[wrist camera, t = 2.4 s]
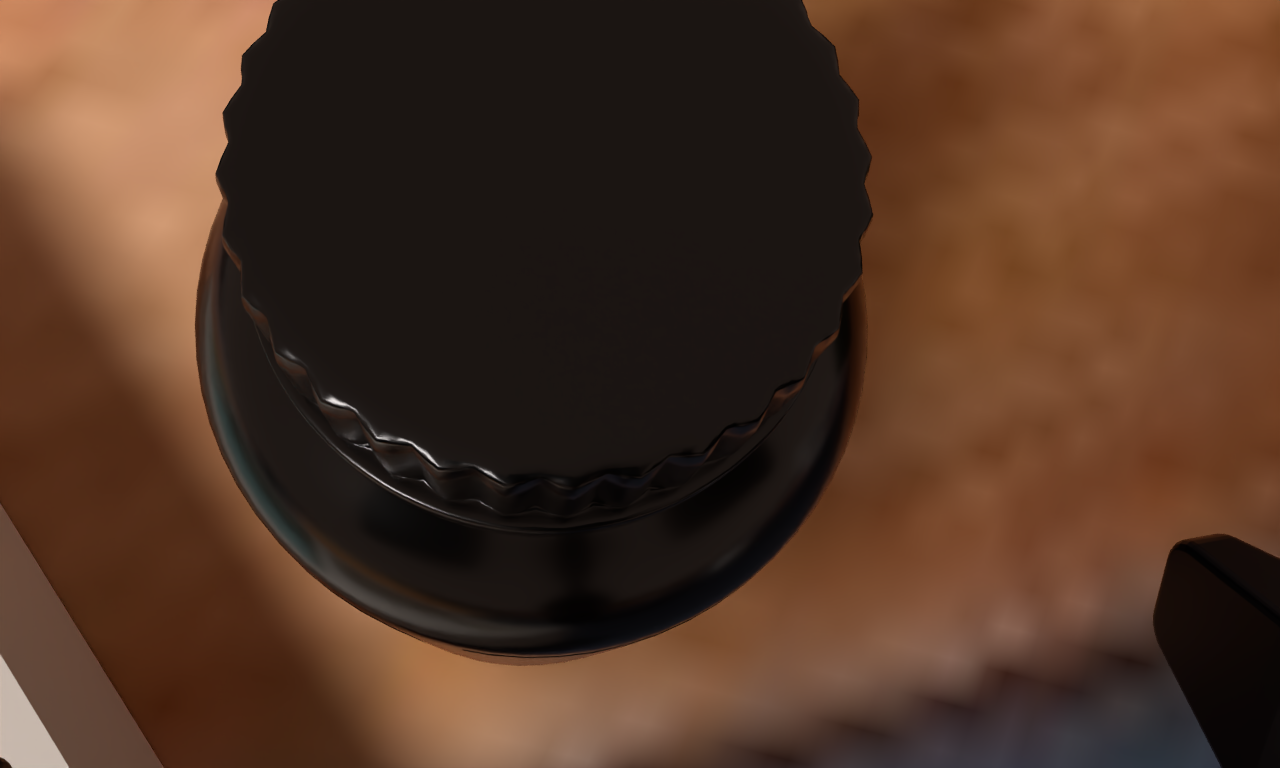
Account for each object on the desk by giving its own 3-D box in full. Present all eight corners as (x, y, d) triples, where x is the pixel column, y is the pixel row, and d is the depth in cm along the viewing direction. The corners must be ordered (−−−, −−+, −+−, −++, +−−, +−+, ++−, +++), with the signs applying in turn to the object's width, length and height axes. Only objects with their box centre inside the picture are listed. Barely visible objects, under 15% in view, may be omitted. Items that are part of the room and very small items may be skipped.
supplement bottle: (675, 231, 21) (897, -286, 10) (767, 615, 20) (1149, 536, 9) (281, 299, 20) (8, -197, 9) (350, 710, 19) (135, 770, 7)
